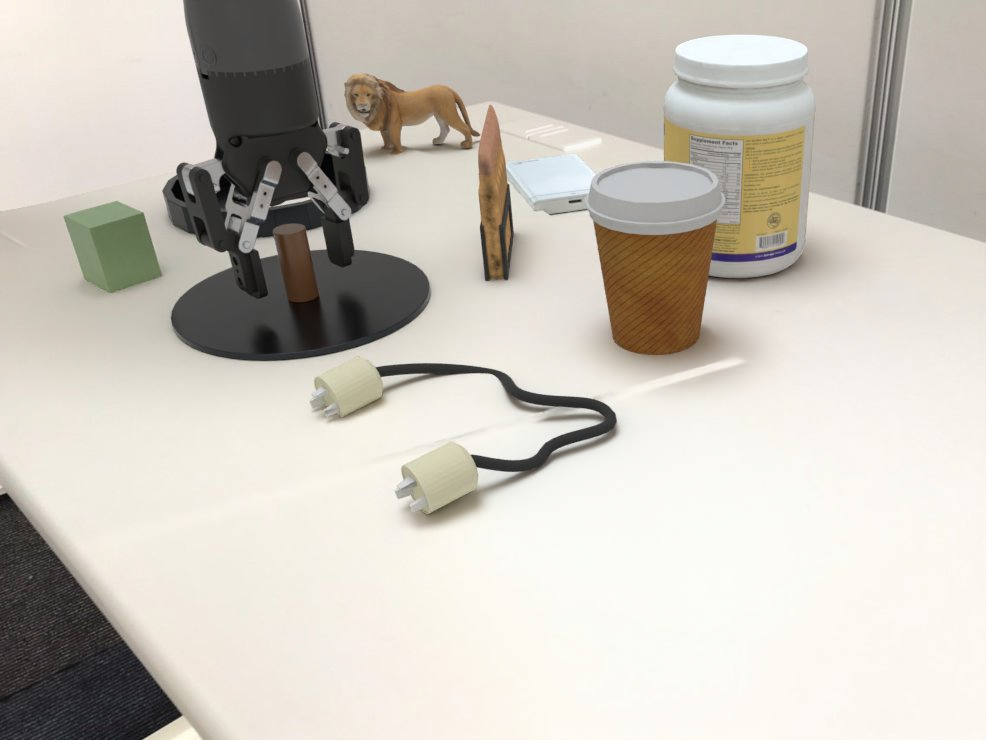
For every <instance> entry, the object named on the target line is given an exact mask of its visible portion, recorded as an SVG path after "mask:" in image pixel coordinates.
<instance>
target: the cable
mask: <svg viewBox="0 0 986 740" xmlns="http://www.w3.org/2000/svg"><path fill="white" fill-rule="evenodd" d="M424 374H425V375H427V374H430V375H432V374H433V375H464V374H465V375H466V374H467V375H468V374H485V375H487V374H488V375H491V376H494V377H495V378H497V380H498V381H499V382H500V383H501V384H502V386H503V387H504V389H505V391H506V392H507V393H508V394H509V395H510V396H511V397H512V398H514V399H515V400H518V401H520V402H524V403H527V404H532V405H537V406H542V407H555V408H556V407H557V408H571V409H583V410H590V411H594V412H596V413H598V414H600V415H601V416H602V417H603V418H604V419H605V420H603V421H602V422H600V423H597V424H594V425H591V426H588V427H584V428H581V429H580V428H579V429H576V430H572V431H569V432H566V433H563V434H560V435H557V436H555V437H552V438H551V439H549V440H548V441H546V442H544V444H542V446H541V447H540V448H539V450H538V451H537V453H536V454H534V455H533V456H530V457H528V458H524V459H504V458H496V457H491V456H485V455H479V454H473V453H472V454H471V453H470V452H469V451H468V450H467V448H465V446H462V445H461V444H459V443H457V442H455V441H448V442H447V443H445V444H442V445H440V446H439V447H437V448H434V449H433V450H430V451H429V452H426V453H424V454H423V455H421V456H418V457H417V458H415V459H412V460H410V461H409V462H407V463H405V464H403V465H401V468H400V471H401V475H402V479H403V480H402V481H401V482H399V483H398V484H397V485H396V488H395V489H394V490H393V491H394V494H395V496H396V499H397V500H401V499H403V498H407V497H410V496H411V498H412V500H413V502H411V503H410V504H409V507H410V511H411V513H415V512H417V511H421V512H423V513H424V514H426V515H430V514H431V513H433V512H435V511H437V510H438V509H441V508H442V507H444V506H446V505H449V504H450V503H452V502H453V501H456V500H457V499H460V498H461V497H463V496H465V495H468V494H469V493H472V492H473V491H475V490H476V489H477V487H478V481H479V470H478V469H483V470H488V471H494V472H504V473H522V472H528V471H531V470H534V469H537V468H539V467H540V466H542V465H543V464H544V463H546V462H547V460H548V459H549V457H551V456H552V454H553V453H554V452H555V451H557V450H559V449H561V448H563V447H565V446H569V445H572V444H575V443H579V442H583V441H587V440H591V439H594V438H597V437H599V436H604V435H605V434H607V433H609V432H610V431H612V430H613V429H614V428H615V427H616V425H617V422H618V419H617V414H616V412H615V411H614V410H613V409H612V408H611V406H609V405H608V404H607V403H605V402H604V401H601V400H598V399H595V398H590V397H582V396H571V395H553V394H542V393H536V392H532V391H528V390H525V389H523V388H520V387H519V386H518V385H517V384H516V383H515V381H514V380H513V378H511V376H509V375H508V374H507V373H505V372H504V371H501V370H498V369H494V368H489V367H484V366H475V365H468V364H457V363H441V362H419V363H418V362H416V363H399V364H397V363H396V364H388V365H379V366H375V365H374V364H373V363H372V362H371V361H370V360H369V359H366V358H365V357H362V356H359V355H356V356H354V357H353V358H350V359H349V360H347V361H344V362H343V363H341V364H339V365H337V366H334V367H333V368H331V369H329V370H327V371H325V372H323V373H321V374H319V375H316V376H315V377H314V379H313V384H314V385H313V386H314V388H315V389H314V390H315V391H313V392H312V393H311V394H310V395H311V397H312V398H311V399H309V400H308V402H309V404H310V406H311V408H312V409H316V408H319V407H322V406H324V407H326V408H324V409H323V412H324V415H325V417H326V418H327V417H330V416H334V415H335V414H337V415H338V416H340V418H344V417H346V416H348V415H350V414H352V413H354V412H356V411H358V410H359V409H361V408H363V407H366V406H367V405H369V404H372V403H373V402H374V401H377V400H379V399H380V398H381V397H382V395H383V389H384V388H383V387H384V386H383V385H384V384H383V383H384V382H383V380H382V378H383V377H384V378H386V377H393V376H404V375H424Z"/></svg>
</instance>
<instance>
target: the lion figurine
mask: <svg viewBox="0 0 986 740" xmlns="http://www.w3.org/2000/svg"><path fill="white" fill-rule="evenodd" d="M343 84H344V92H343V93H344V94H343V95H344V98H345V105H346V108H347V110H348V113H349V114H350V116H351V117H352V118H353V119H354V120H355V121H358V122H361V123H362V124H364V125H365V126H366V128H368V129H369V130H370V131H373V132H379V133H380V136H381V138H382V141H383V145H382V146H381V147H380V150H390V149H393V151H391V152H390V153H389V155H392V156H397V155H400V154H403V146H402V145H403V144H402V140H401V137H402V129H403V127H414V126H419V125H421V124H424V123H425V122H427V121H428V120H430V119H431V118H432V117H434V118H435V120H436V122H437V124H438V126H439V130H440V131H439V135H438V136H436V137H433V139H432V144H433V145H442V144H444V143H445V141H446V138H447V137H448V135H449V133H450V131H451V129H450V128H452V129H454V130H455V131H457V132H458V133H461V134H462V135H463V136H464V140H462V141H461V142H460V147H461V148H463V149H469V148H472V146H473V137H476V138H478V137H481V133H479V132H478V130H475V129H474V128H473V127H472V125H471V121H470V118H469V115H468V112H467V109H466V106H465V104H464V102H463V99H462V98H461V97H460V95H459V94H458V93H457V91H456V90H454V89H453V88H451V87H449V86H447V85H442V84H433V85H430V86H429V85H428V86H427V87H424V88H420V89H415V90H409V91H405V90H404V89H401V88H399V87H397V86H396V85H395V84H393V83H392V82H390V81H389V80H383V79H382V78H381V79H380V78H377V77H376V76H375V75H372V74H369V73H366V72H359V73H355V74H351V76H350V77H348V78H347V81H346V82H344V83H343ZM457 107H458V109H459V110H458V109H457ZM458 111H460V113H461V116H460V115H459V112H458ZM461 117H462V118H463V119H462V118H461Z"/></svg>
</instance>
